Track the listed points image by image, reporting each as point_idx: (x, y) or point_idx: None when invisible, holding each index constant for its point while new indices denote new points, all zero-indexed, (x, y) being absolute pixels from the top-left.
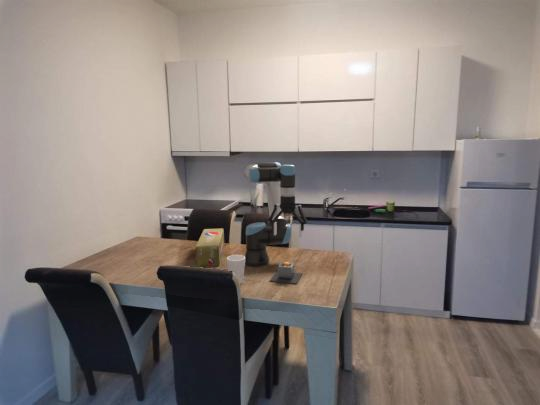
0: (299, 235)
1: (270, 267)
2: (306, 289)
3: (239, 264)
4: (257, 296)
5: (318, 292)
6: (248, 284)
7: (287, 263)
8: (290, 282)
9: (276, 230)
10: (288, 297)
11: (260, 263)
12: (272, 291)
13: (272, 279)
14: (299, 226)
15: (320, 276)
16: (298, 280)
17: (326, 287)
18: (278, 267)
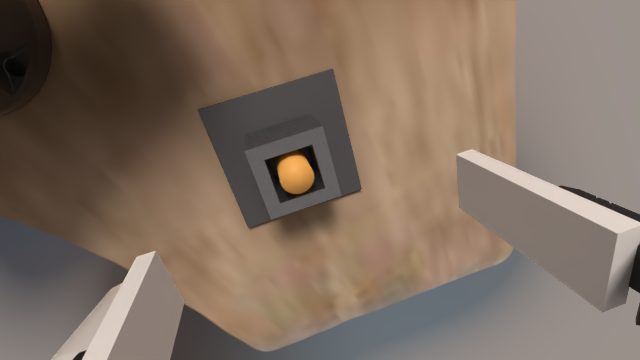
0: (474, 216)
1: (111, 63)
2: (409, 204)
3: None
4: (290, 332)
5: (454, 202)
6: (192, 290)
7: (306, 181)
8: (336, 197)
9: (146, 295)
10: (380, 284)
11: (31, 84)
12: (311, 282)
13: (251, 212)
14: (577, 292)
15: (419, 47)
16: (353, 157)
17: (470, 149)
18: (273, 217)
